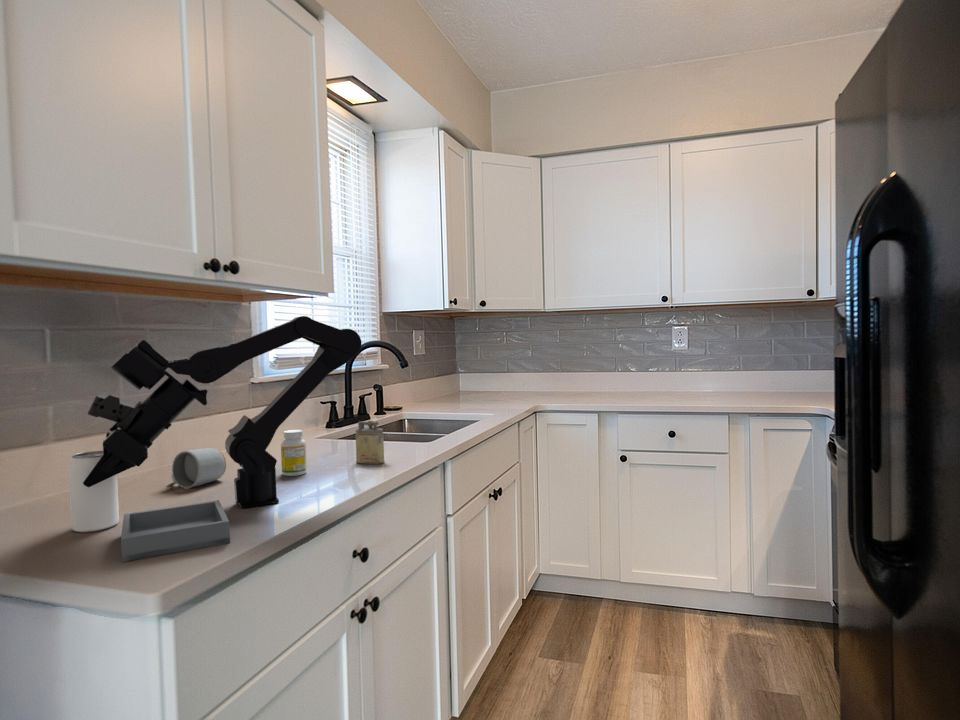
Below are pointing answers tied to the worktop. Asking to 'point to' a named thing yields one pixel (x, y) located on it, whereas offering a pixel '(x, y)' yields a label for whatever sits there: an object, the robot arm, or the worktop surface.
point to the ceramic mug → (198, 467)
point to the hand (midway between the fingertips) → (87, 481)
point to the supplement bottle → (293, 453)
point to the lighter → (369, 443)
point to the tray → (173, 530)
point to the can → (91, 496)
